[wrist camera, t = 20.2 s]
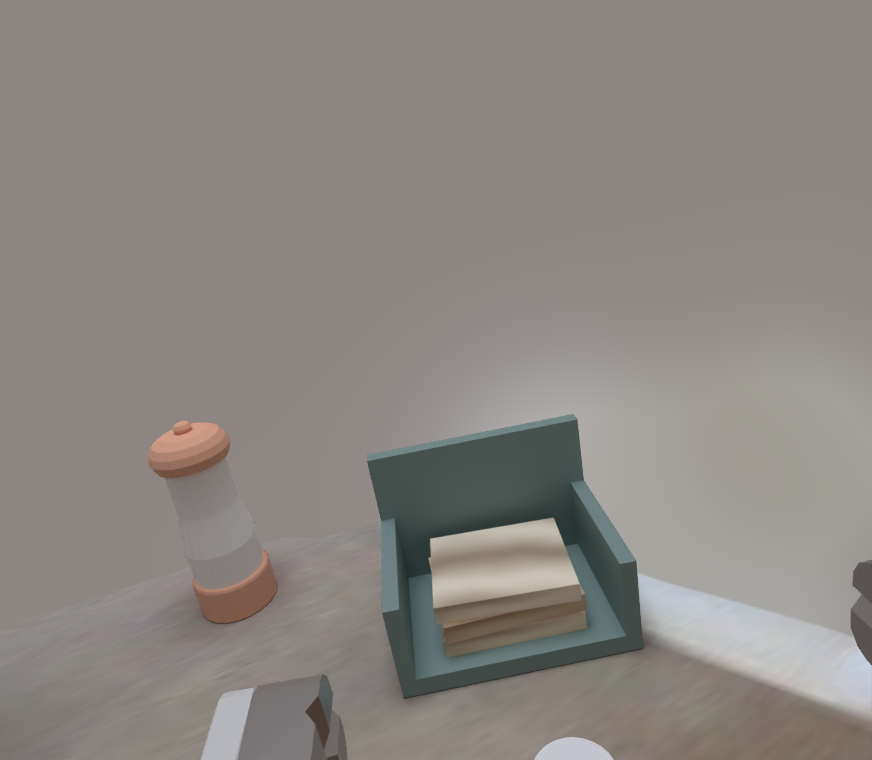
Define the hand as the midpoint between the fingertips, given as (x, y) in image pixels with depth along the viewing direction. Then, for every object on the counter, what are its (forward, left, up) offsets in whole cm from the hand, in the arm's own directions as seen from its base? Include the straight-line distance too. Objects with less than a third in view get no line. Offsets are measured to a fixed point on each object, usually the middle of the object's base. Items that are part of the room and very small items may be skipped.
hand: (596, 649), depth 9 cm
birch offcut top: (-12, +33, -25) cm, 43 cm away
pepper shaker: (-39, +33, -30) cm, 59 cm away
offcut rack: (-12, +33, -30) cm, 46 cm away
